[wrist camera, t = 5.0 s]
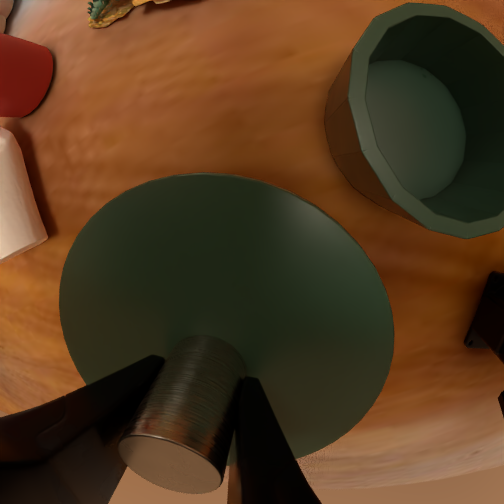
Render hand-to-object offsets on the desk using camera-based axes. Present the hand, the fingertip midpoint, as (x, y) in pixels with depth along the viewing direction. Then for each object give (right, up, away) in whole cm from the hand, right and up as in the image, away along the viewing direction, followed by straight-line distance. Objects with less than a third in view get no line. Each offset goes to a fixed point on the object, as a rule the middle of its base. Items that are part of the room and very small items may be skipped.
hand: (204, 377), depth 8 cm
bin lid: (0, 0, +1) cm, 1 cm away
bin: (+11, +11, +8) cm, 18 cm away
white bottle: (-18, +10, +12) cm, 24 cm away
